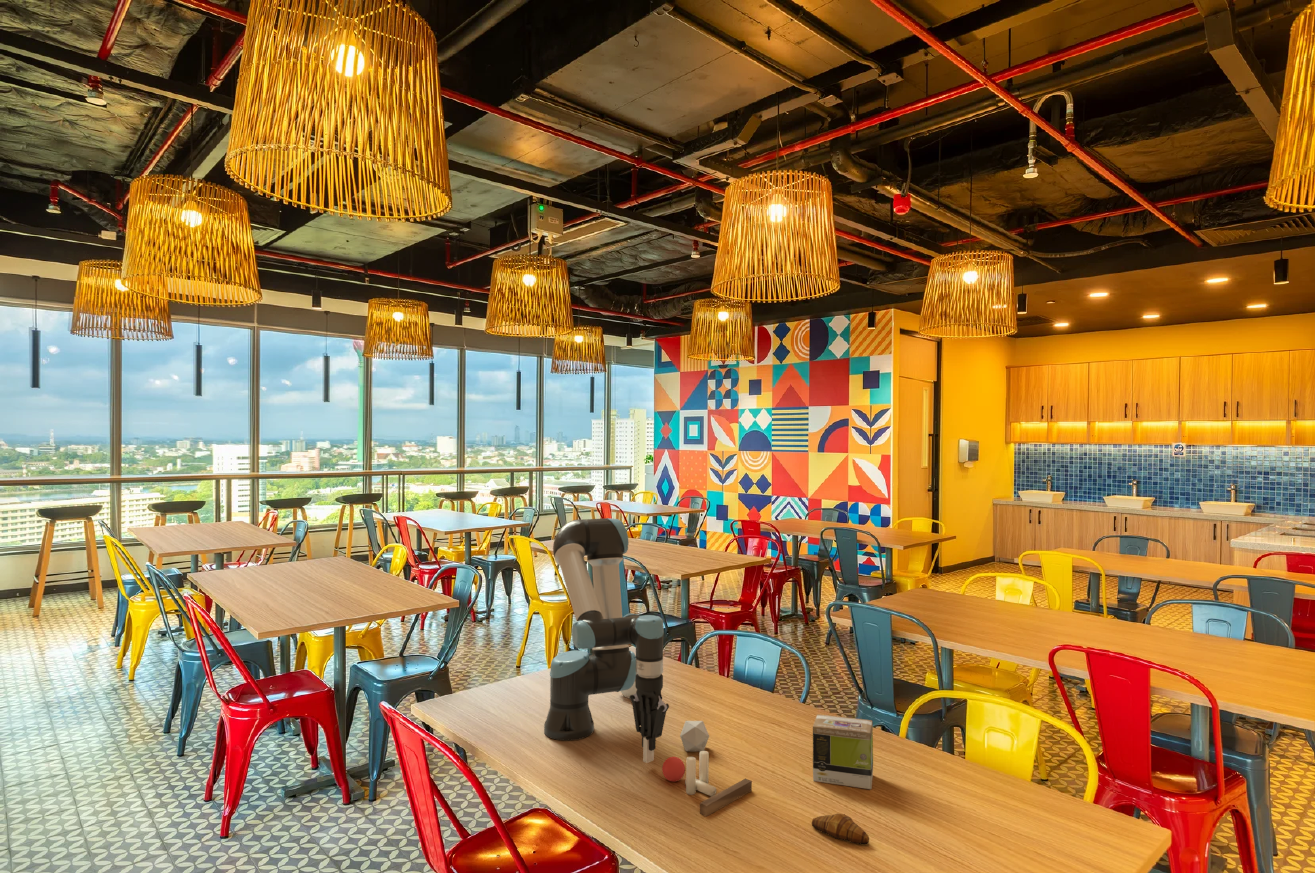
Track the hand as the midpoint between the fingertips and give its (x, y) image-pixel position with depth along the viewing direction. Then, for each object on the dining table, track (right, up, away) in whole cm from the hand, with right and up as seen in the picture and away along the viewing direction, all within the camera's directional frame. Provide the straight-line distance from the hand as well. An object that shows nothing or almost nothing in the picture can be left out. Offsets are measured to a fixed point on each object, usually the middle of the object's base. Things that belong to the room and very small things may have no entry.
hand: (648, 760), depth 200 cm
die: (+13, -2, +12) cm, 18 cm away
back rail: (+20, -2, -19) cm, 27 cm away
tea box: (+52, -3, -5) cm, 52 cm away
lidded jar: (-6, -3, +57) cm, 58 cm away
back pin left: (+14, -2, -10) cm, 18 cm away
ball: (+7, +1, -7) cm, 10 cm away
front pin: (+10, -1, -10) cm, 14 cm away
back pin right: (+11, -2, -14) cm, 18 cm away
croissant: (+44, -2, -34) cm, 55 cm away
